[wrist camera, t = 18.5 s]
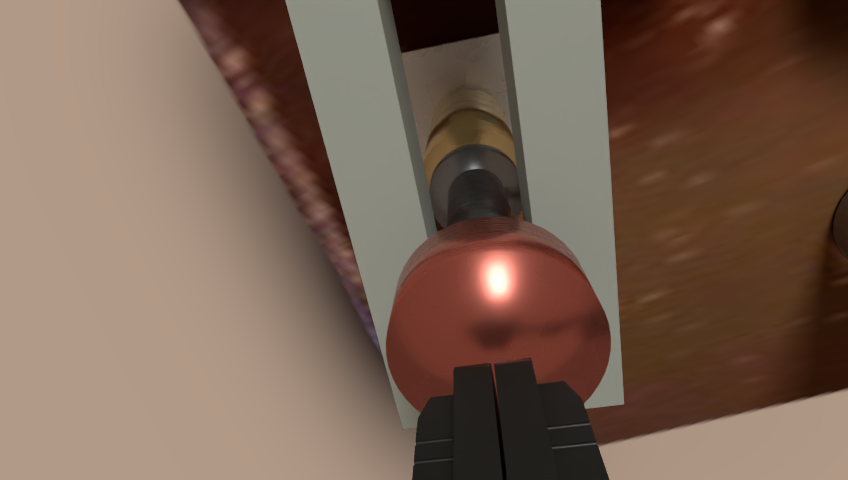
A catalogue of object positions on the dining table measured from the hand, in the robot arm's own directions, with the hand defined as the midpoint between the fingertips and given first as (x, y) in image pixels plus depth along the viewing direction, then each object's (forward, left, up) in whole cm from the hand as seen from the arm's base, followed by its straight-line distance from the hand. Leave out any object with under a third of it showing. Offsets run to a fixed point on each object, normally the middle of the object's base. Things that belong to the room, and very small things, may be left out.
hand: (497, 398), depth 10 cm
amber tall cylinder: (0, 0, -28) cm, 28 cm away
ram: (0, 0, -14) cm, 14 cm away
